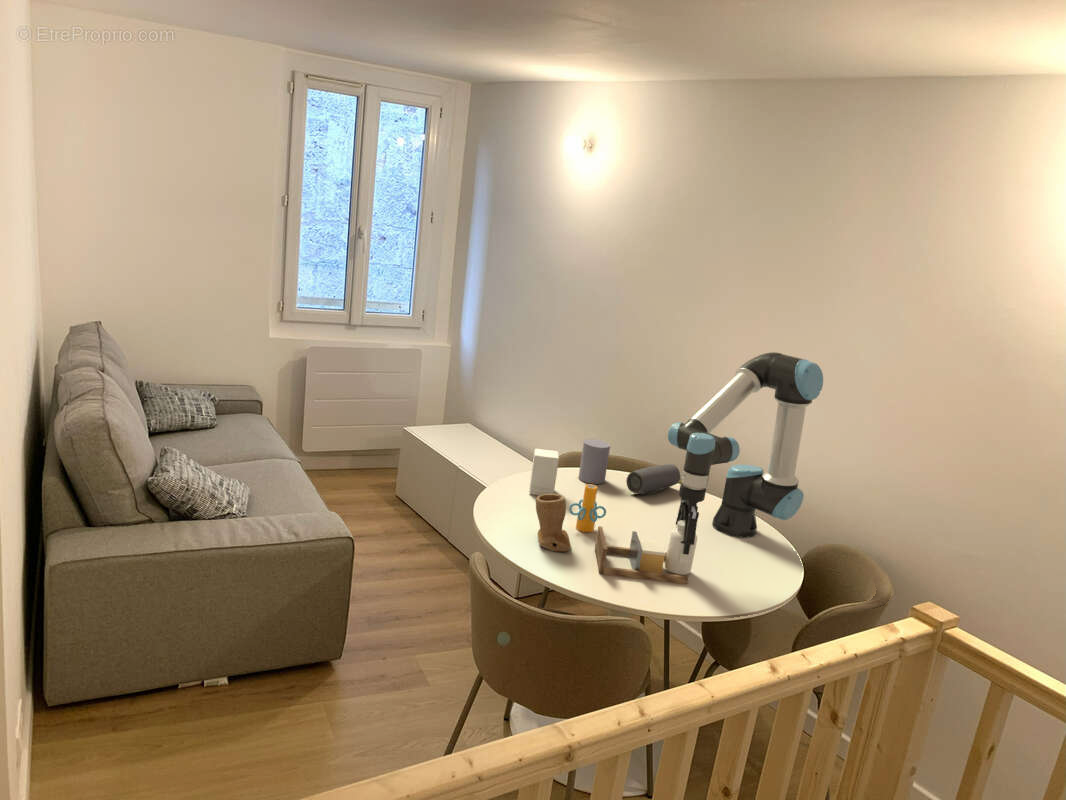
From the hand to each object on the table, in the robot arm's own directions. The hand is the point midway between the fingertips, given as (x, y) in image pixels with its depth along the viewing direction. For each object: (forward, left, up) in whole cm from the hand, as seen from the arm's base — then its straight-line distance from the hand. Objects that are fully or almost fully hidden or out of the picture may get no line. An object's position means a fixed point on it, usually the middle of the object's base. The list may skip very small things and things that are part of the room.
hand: (680, 556), depth 239 cm
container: (+21, -74, -5) cm, 77 cm away
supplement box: (+41, -54, -5) cm, 68 cm away
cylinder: (+27, -24, -5) cm, 36 cm away
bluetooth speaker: (-2, -69, -5) cm, 69 cm away
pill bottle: (0, 0, -4) cm, 4 cm away
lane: (+12, 0, -5) cm, 13 cm away
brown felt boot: (+39, -10, -5) cm, 40 cm away
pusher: (+14, 0, -5) cm, 14 cm away
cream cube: (+9, 0, -5) cm, 10 cm away
